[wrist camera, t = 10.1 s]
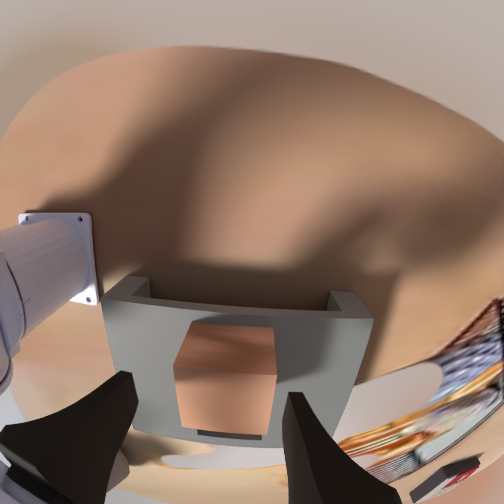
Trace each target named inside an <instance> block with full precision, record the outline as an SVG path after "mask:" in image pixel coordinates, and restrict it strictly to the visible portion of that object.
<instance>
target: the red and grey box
mask: <svg viewBox="0 0 504 504" xmlns="http://www.w3.org/2000/svg"><path fill="white" fill-rule="evenodd" d="M479 465H480V462H479V460H478V458H477V457H474V458H471V459H468V460H465V461H462V462H459V463H456V464H451V465H447V466H443V467H441V468H440V469H439V470H437V471H436V472H435V473H434V474H433V475H432V476H430V477H429V478H428V479H427V480H425V481H424V482H423V483H422V484H420V485H419V486H418V487H416V488H415V489H414V490H413V491H411V492H410V493H409V494H410V496H411V499H412V501H413V503H419V502H422V501H424V500H427V499H428V500H429V499H432V498H434V497H436V496H439V495H441V494H444V493H446V492H449V491H451V490H452V489H454V488H455V487H456V486H458V485H459V484H460V483H461V482H462V481H464V479H466V478H467V477H468V476H469V475H471V474H472V473H473V472H474V471H475V470H476V469H477V468H478V467H479Z"/></svg>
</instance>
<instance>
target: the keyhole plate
mask: <svg viewBox="0 0 504 504" xmlns="http://www.w3.org/2000/svg"><path fill="white" fill-rule="evenodd" d="M100 300H101V306H102V312H103V317H104V323H105V328H106V333H107V338H108V342H109V347H110V351H111V355H112V359H113V363H114V367H115V371H116V373H118V372H119V371H120V370H122V371H127V372H131V373H132V374H133V379H134V383H135V388H136V392H137V396H138V400H139V403H138V407H137V410H136V413H135V416H134V419H133V421H132V426H133V428H134V430H138V431H142V432H146V433H151V434H155V435H160V436H165V437H170V438H175V439H181V440H187V441H193V442H200V443H208V444H216V445H226V446H238V447H257V448H284V447H283V440H282V417H283V413H284V409H285V405H286V401H287V396H288V392H303V393H304V395H305V397H306V399H307V401H308V403H309V405H310V406H311V408H312V410H313V412H314V413H315V415H316V416H317V418H318V420H319V421H320V422H321V424H322V425H323V427H324V428H325V430H326V431H327V432H328V434H329V435H330V436H331V438H332V437H333V435H334V432H335V430H336V428H337V426H338V423H339V421H340V418H341V416H342V414H343V411H344V409H345V406H346V404H347V401H348V399H349V396H350V394H351V391H352V388H353V385H354V383H355V380H356V377H357V374H358V371H359V368H360V365H361V362H362V359H363V356H364V353H365V350H366V347H367V343H368V340H369V336H370V333H371V330H372V326H373V322H374V319H375V318H374V317H373V316H372V314H371V313H370V312H369V310H368V309H367V308H366V306H365V305H364V304H363V302H362V301H361V300H360V298H359V297H358V296H357V294H356V293H355V292H354V291H332V290H330V294H329V300H328V305H327V311H313V310H288V309H269V308H253V307H239V306H226V305H214V304H203V303H192V302H182V301H173V300H164V299H155V298H151V294H150V280H149V277H140V276H130V275H127V276H125V277H124V278H123V279H122V280H121V281H119V282H118V283H117V284H116V285H115V286H114V287H112V288H111V289H110V290H109V291H108V292H106V293H105V294H104V295H103V296H102V297H101V298H100ZM192 321H194V322H204V323H215V324H226V325H239V326H253V327H270V328H273V331H274V343H275V355H276V368H277V379H276V385H275V391H274V397H273V403H272V409H271V415H270V421H269V426H268V432H267V435H255V434H238V433H226V432H216V431H208V430H200V429H193V428H186V427H182V425H181V419H180V413H179V407H178V401H177V394H176V387H175V379H174V371H173V364H174V361H175V359H176V357H177V354H178V352H179V350H180V347H181V345H182V343H183V340H184V338H185V336H186V333H187V331H188V329H189V327H190V324H191V322H192Z"/></svg>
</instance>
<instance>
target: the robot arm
mask: <svg viewBox="0 0 504 504" xmlns="http://www.w3.org/2000/svg"><path fill="white" fill-rule="evenodd" d="M80 217H81V218H82V222H81V220H80ZM28 218H29V220H28ZM88 297H89V298H90V299H91V300H89V298H88ZM68 301H73V302H78V303H83V304H88V305H94V306H96V305H97V304H98V303H99V294H98V287H97V279H96V271H95V262H94V251H93V238H92V220H91V216H90V214H89V213H21V214H20V215H19V225H16V226H13V227H10V228H7V229H4V230H1V231H0V395H1V394H2V393H3V392H4V391H5V390H6V389H7V387H8V386H9V384H10V382H11V380H12V376H13V363H12V360H11V358H12V357H13V356H14V355H16V354H17V353H18V352H19V351H20V346H19V343H20V340H21V339H22V338H23V337H24V336H26V335H27V334H28V333H29V332H30V331H32V330H33V329H34V328H35V327H36V326H38V325H39V324H40V323H41V322H43V321H44V320H45V319H46V318H48V317H49V316H50V315H51V314H53V313H54V312H55V311H56V310H58V309H59V308H60V307H61V306H63V305H64V304H65V303H67V302H68ZM138 403H139V400H138V396H137V392H136V388H135V383H134V379H133V374H132V373H131V372H127V371H122V370H120V371H119V372H118V373H116V374H115V375H114V376H112V377H111V378H110V379H108V380H107V381H106V382H104V383H103V384H102V385H101V386H99V387H98V388H96V389H95V390H94V391H92V392H91V393H89V394H88V395H86V396H85V397H83V398H82V399H80V400H79V401H77V402H76V403H74V404H72V405H70V406H68V407H66V408H64V409H62V410H60V411H58V412H56V413H53V414H51V415H48V416H46V417H43V418H40V419H36V420H33V421H29V422H24V423H19V424H12V425H6V426H5V427H4V428H3V429H2V431H1V432H0V451H1V453H2V454H3V455H4V457H5V458H6V459H7V460H8V461H9V462H10V463H11V467H10V468H9V467H8V466H7V465H5V464H4V463H3V462H2V461H0V504H104V502H105V496H106V492H107V487H108V483H109V479H110V475H111V471H112V468H113V464H114V461H115V458H116V456H117V453H118V451H119V449H120V447H121V444H122V442H123V440H124V438H125V436H126V434H127V432H128V430H129V428H130V426H131V423H132V421H133V419H134V416H135V413H136V410H137V407H138ZM282 440H283V447H284V454H285V461H286V468H287V475H288V489H289V504H402V502H401V499H400V496H399V494H398V492H397V490H396V489H395V488H393V487H391V486H389V485H387V484H385V483H384V482H382V481H380V480H378V479H377V478H375V477H374V476H372V475H371V474H369V473H368V472H367V471H365V470H364V469H363V468H362V467H360V466H359V465H358V464H357V463H355V462H354V461H353V460H352V459H351V458H350V457H349V456H348V455H347V454H346V453H345V452H344V451H343V450H342V449H341V448H340V447H339V446H338V445H337V444H336V442H335V441H334V440H333V439H332V438H331V436H330V435H329V434H328V432H327V431H326V430H325V428H324V427H323V425H322V424H321V422H320V421H319V420H318V418H317V416H316V415H315V413H314V412H313V410H312V408H311V406H310V405H309V403H308V401H307V399H306V397H305V395H304V393H303V392H288V396H287V401H286V405H285V409H284V413H283V417H282Z"/></svg>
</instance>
